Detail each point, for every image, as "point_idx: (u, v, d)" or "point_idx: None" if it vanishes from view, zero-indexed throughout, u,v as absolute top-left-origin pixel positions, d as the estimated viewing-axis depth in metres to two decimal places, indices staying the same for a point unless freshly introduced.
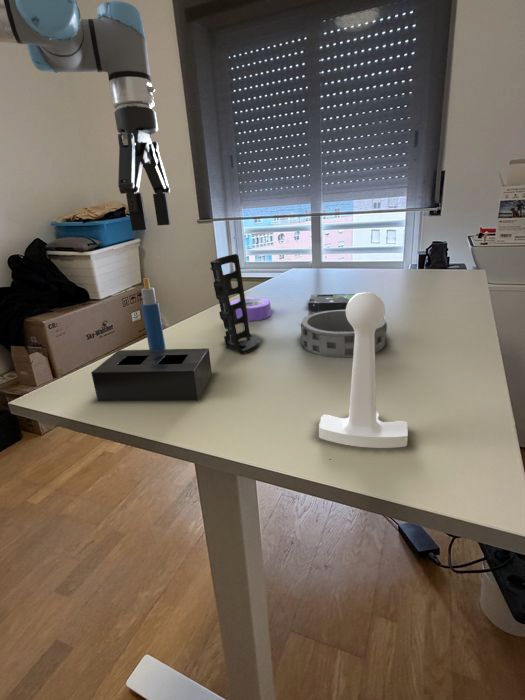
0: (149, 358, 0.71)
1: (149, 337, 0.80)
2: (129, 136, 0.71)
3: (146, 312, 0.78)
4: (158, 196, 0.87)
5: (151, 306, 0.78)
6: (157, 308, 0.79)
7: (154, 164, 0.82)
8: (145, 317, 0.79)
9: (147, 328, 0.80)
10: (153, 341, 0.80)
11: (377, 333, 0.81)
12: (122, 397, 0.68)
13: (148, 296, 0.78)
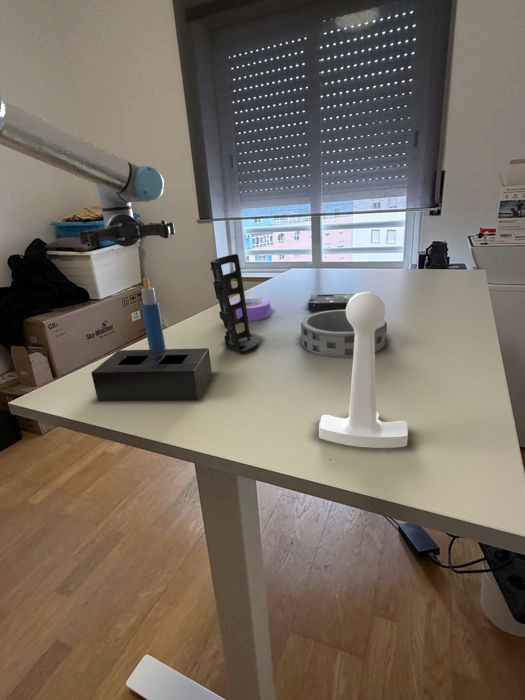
0: (149, 358, 0.71)
1: (149, 337, 0.80)
2: None
3: (146, 312, 0.78)
4: None
5: (151, 306, 0.78)
6: (157, 308, 0.79)
7: (114, 239, 0.93)
8: (145, 317, 0.79)
9: (147, 328, 0.80)
10: (153, 341, 0.80)
11: (377, 333, 0.81)
12: (122, 397, 0.68)
13: (148, 296, 0.78)
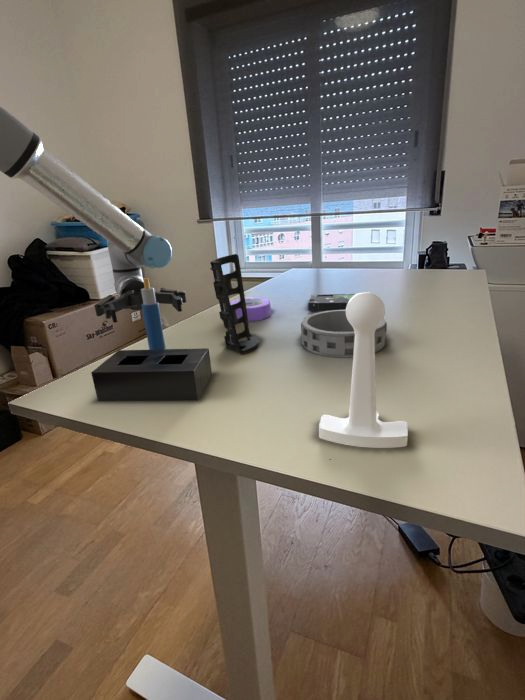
0: (149, 358, 0.71)
1: (149, 337, 0.80)
2: None
3: (146, 312, 0.78)
4: None
5: (151, 306, 0.78)
6: (157, 308, 0.79)
7: (127, 307, 0.96)
8: (145, 317, 0.79)
9: (147, 328, 0.80)
10: (153, 341, 0.80)
11: (377, 333, 0.81)
12: (122, 397, 0.68)
13: (148, 296, 0.78)
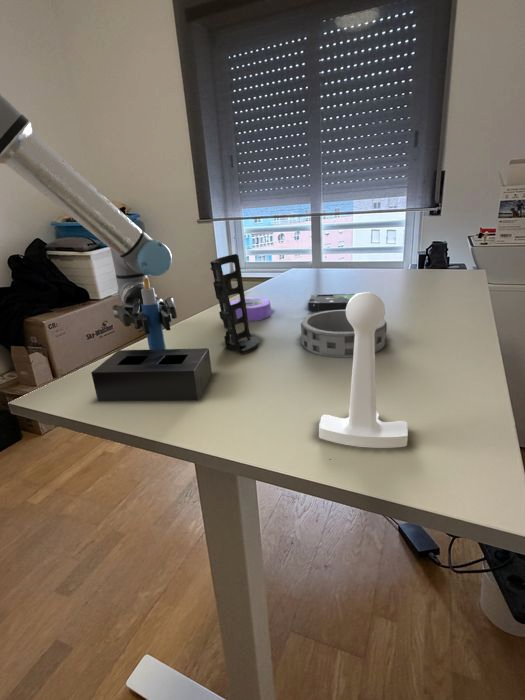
0: (149, 358, 0.71)
1: (149, 337, 0.80)
2: None
3: (146, 312, 0.78)
4: None
5: (151, 306, 0.78)
6: (157, 308, 0.79)
7: None
8: None
9: None
10: (153, 341, 0.80)
11: (377, 333, 0.81)
12: (122, 397, 0.68)
13: (148, 296, 0.78)
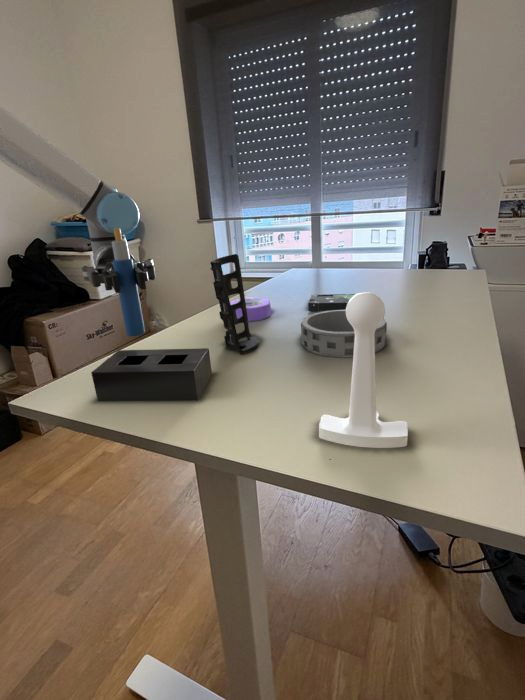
0: (149, 358, 0.71)
1: (122, 299, 0.69)
2: (154, 270, 0.80)
3: (117, 269, 0.67)
4: None
5: (123, 261, 0.66)
6: (131, 265, 0.67)
7: None
8: None
9: None
10: (127, 304, 0.69)
11: (377, 333, 0.81)
12: (122, 397, 0.68)
13: (119, 249, 0.66)
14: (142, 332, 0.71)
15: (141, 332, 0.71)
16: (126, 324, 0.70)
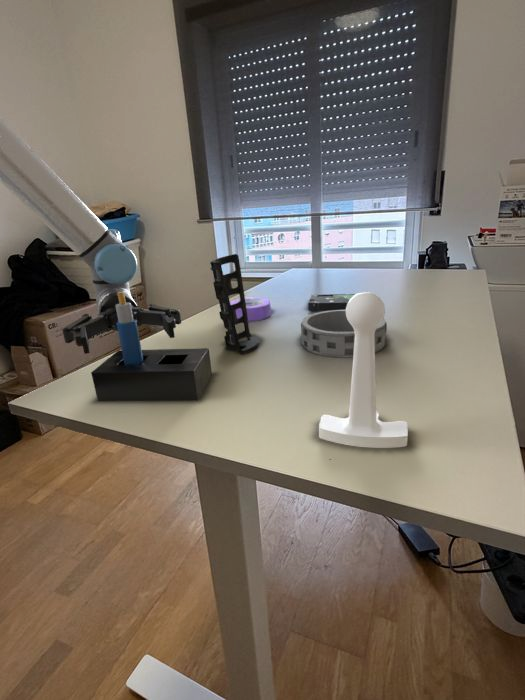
0: (149, 358, 0.71)
1: (126, 360, 0.69)
2: None
3: (121, 331, 0.67)
4: (86, 334, 0.69)
5: (127, 325, 0.67)
6: (135, 327, 0.68)
7: (107, 329, 0.76)
8: (120, 337, 0.68)
9: (123, 350, 0.69)
10: None
11: (377, 333, 0.81)
12: (122, 397, 0.68)
13: (123, 313, 0.66)
14: None
15: None
16: None
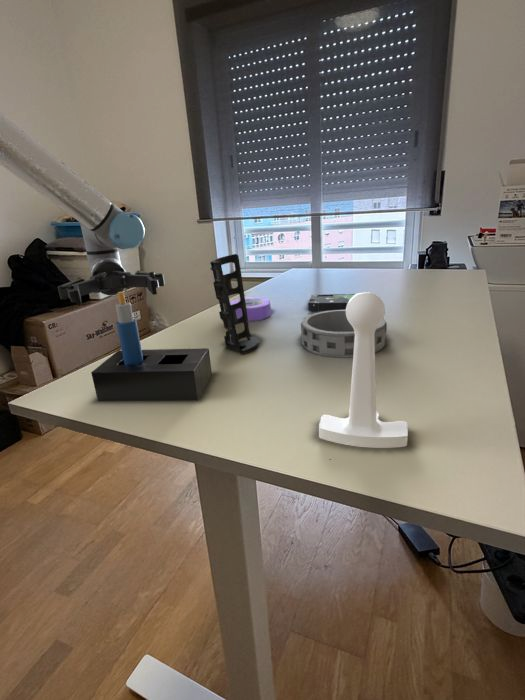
0: (149, 358, 0.71)
1: (126, 360, 0.69)
2: None
3: (121, 331, 0.67)
4: (79, 291, 0.78)
5: (127, 325, 0.67)
6: (135, 327, 0.68)
7: (98, 290, 0.85)
8: (120, 337, 0.68)
9: (123, 350, 0.69)
10: None
11: (377, 333, 0.81)
12: (122, 397, 0.68)
13: (123, 313, 0.66)
14: None
15: None
16: None
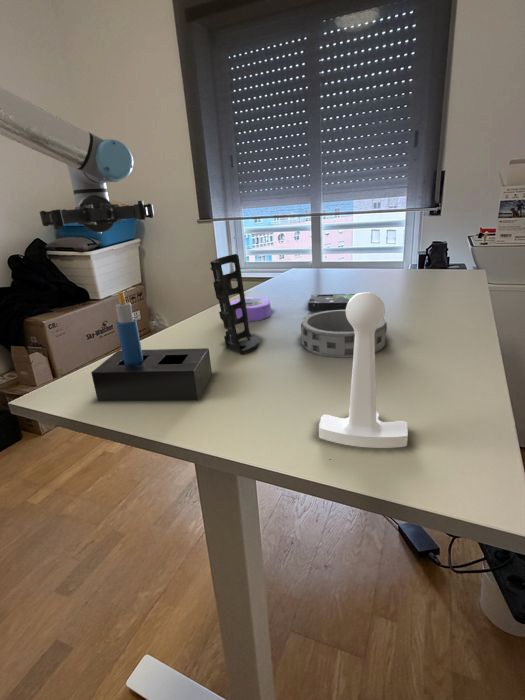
0: (149, 358, 0.71)
1: (126, 360, 0.69)
2: None
3: (121, 331, 0.67)
4: (62, 216, 0.74)
5: (127, 325, 0.67)
6: (135, 327, 0.68)
7: (84, 222, 0.80)
8: (120, 337, 0.68)
9: (123, 350, 0.69)
10: None
11: (377, 333, 0.81)
12: (122, 397, 0.68)
13: (123, 313, 0.66)
14: None
15: None
16: None
